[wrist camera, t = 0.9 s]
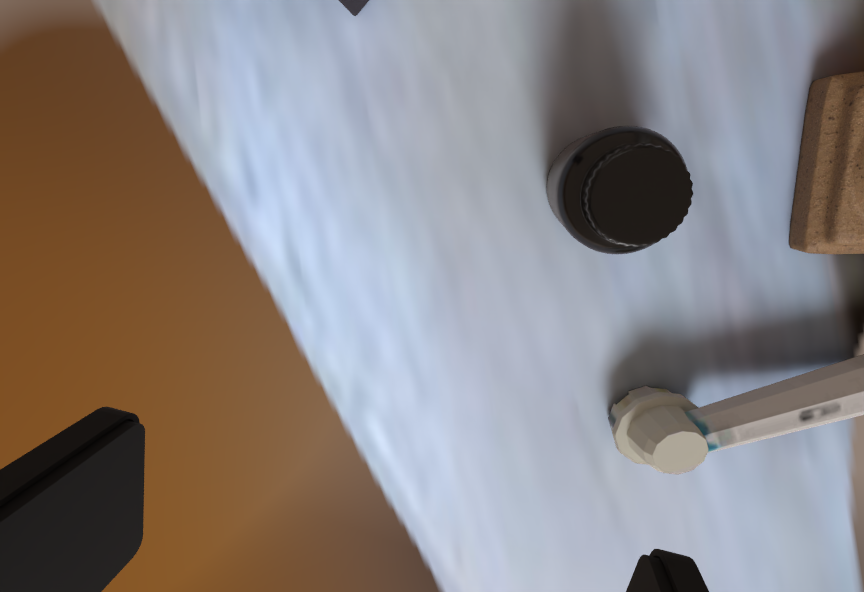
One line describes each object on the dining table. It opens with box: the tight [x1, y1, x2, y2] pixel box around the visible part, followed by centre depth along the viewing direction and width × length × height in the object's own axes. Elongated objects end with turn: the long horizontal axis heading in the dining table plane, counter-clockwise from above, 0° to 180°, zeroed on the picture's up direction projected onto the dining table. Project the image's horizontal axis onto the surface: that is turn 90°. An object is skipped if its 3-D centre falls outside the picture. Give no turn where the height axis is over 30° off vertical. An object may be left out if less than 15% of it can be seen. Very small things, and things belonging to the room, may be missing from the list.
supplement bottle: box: [547, 126, 693, 254], centre depth 28 cm, size 7×7×12 cm
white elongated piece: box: [608, 354, 864, 474], centre depth 34 cm, size 5×7×25 cm
